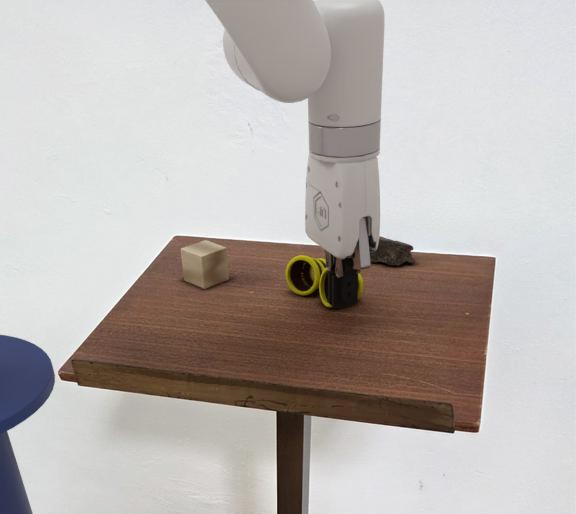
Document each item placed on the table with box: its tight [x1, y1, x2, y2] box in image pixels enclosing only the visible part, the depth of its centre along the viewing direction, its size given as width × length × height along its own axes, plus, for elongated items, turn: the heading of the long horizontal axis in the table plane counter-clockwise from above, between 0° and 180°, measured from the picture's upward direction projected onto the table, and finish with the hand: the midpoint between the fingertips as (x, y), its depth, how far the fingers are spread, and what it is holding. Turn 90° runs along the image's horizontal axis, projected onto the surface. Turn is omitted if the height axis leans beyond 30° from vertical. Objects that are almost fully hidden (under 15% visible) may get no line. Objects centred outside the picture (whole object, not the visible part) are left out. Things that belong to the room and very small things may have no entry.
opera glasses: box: [284, 254, 364, 308], centre depth 95 cm, size 10×5×5 cm, turn 42°
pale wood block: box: [180, 239, 230, 290], centre depth 100 cm, size 4×4×4 cm
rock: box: [370, 235, 416, 266], centre depth 105 cm, size 12×7×5 cm, turn 57°
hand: (342, 303), depth 90 cm, fingers closed
